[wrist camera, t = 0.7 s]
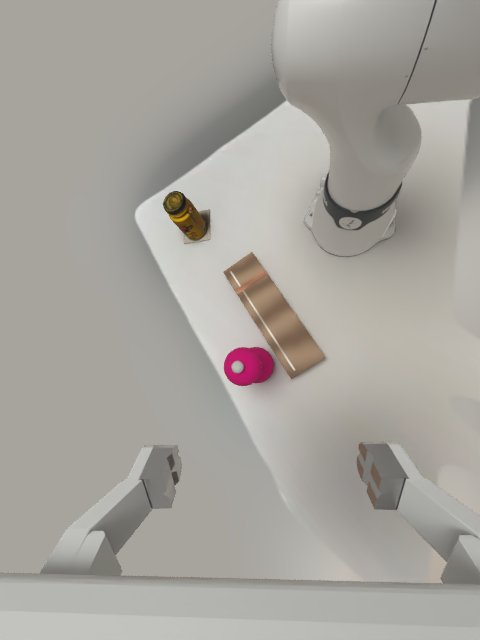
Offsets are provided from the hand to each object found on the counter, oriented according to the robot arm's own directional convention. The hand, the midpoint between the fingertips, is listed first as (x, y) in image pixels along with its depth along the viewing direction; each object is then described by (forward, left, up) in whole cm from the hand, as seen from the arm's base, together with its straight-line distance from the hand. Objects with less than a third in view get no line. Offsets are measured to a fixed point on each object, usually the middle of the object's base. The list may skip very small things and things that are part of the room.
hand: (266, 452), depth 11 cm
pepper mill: (-1, -8, -42) cm, 43 cm away
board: (-12, -8, -42) cm, 44 cm away
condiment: (-30, -34, -42) cm, 62 cm away
